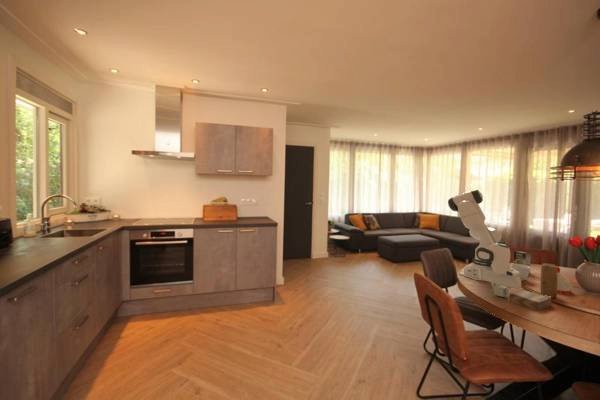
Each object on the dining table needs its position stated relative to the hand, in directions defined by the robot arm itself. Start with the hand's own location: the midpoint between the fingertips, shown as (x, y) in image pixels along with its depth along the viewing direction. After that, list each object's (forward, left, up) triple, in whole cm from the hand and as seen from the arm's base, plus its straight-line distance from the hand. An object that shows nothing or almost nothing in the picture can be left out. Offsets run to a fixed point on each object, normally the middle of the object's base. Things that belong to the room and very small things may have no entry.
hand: (500, 291), depth 170 cm
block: (+14, +28, -3) cm, 31 cm away
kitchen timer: (+12, +46, -3) cm, 47 cm away
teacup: (-11, +50, -3) cm, 51 cm away
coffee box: (-18, +72, -3) cm, 74 cm away
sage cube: (0, 0, -2) cm, 2 cm away
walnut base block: (+14, +4, -4) cm, 15 cm away
